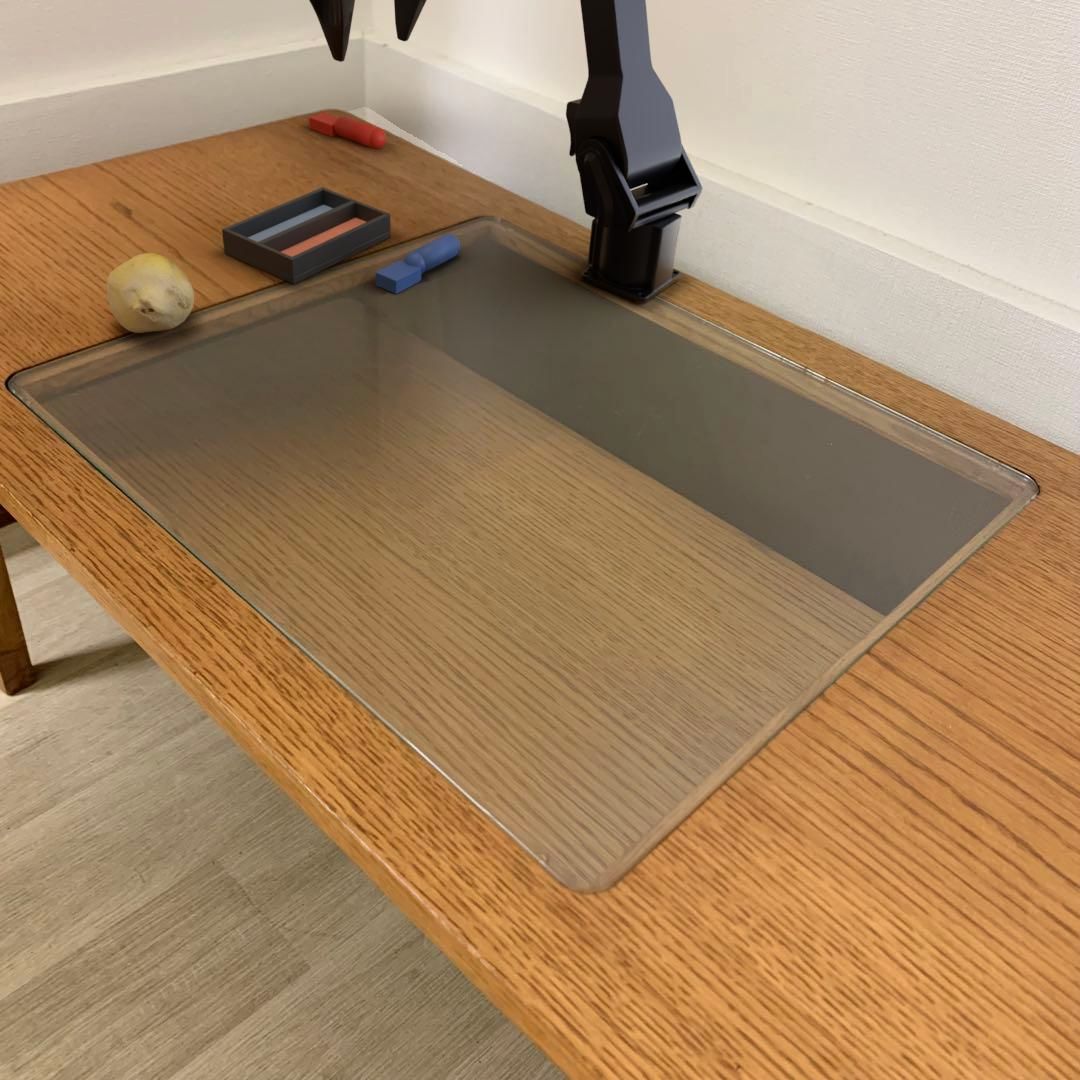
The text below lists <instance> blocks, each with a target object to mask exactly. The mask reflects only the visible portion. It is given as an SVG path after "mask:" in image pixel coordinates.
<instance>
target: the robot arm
mask: <svg viewBox="0 0 1080 1080" xmlns="http://www.w3.org/2000/svg"><path fill="white" fill-rule="evenodd" d="M308 1H309V3H310V5H311V7H312V8H313V11H314V13H315V15H316V18H317V20H318V22H319V25H320V28H321V30H322V33H323V37H324V38H325V41H326V43H327V46H328V49H329V51H330V54H331V57H332V59H333V60H334V61H336V62H340V63H341V62H344V61H345V60H346V56H347V52H348V47H349V41H350V34H351V29H352V22H353V17H354V15H353V14H354V10H355V3H356V0H308ZM393 2H394V3H393V5H394V7H393V8H394V23H395V30H396V36H397V39H398V40H399V41H402V42H408V41H409V39H410V37H411V35H412V33H413V31H414V28H415V26H416V23H417V22H418V20H419V18H420V15H421V13H422V11H423V9H424V7H425V5H426V3H427V2H428V1H427V0H393ZM579 2H580V10H581V17H582V18H581V20H582V28H583V29H582V30H583V35H584V46H585V53H586V62H587V80H586V83H585V87H584V89H583V93H582V95H581V98H577V99H574V100H571V101H568V102H567V103H566V109H565V118H566V121H567V125H568V130H569V135H570V137H569V138H570V139H569V140H570V146H569V152H568V154H569V155H568V156H569V157H574V156H575V164H576V167H577V172H578V174H579V180H580V186H581V194H582V200H583V206H584V212H585V214H586V215H587V216H590V217H592V218H593V219H592V220H591V227H590V236H589V246H588V254H587V264H588V265H589V267H588V268H586V269H584V270H582V271H581V272H580V280H582V281H584V282H587V283H590V284H592V285H594V286H597V287H599V288H602V289H604V290H607V291H610V292H612V293H615V294H618V295H620V296H622V297H626V298H628V299H630V300H633V301H635V302H638V303H647V302H649V301H650V300H651V299H653V298H654V297H656V296H657V295H658V294H660V293H661V292H662V291H664V290H665V289H667V288H668V287H670V286H671V285H673V284H674V283H676V282H677V281H678V280H680V278H681V271H679V270H677V269H674V266H675V260H676V259H675V258H676V252H677V246H678V240H679V234H680V229H681V228H680V227H681V223H682V215H681V214H679V212H682V211H684V210H689V209H691V208H694V207H695V205H696V203H697V201H698V199H699V197H700V195H701V194H702V192H703V185H702V183H701V181H700V179H699V177H698V174H697V173H696V171H695V168H694V166H693V164H692V162H691V159H690V158H689V156H688V154H687V151H686V150H685V147H684V145H683V143H682V137H681V132H680V128H679V127H680V126H679V123H678V117H677V113H676V109H675V104H674V101H673V98H672V96H671V94H670V93H669V91H668V90H667V89H666V87H665V85H664V83H663V82H662V80H661V79H660V77H659V76H658V74H657V72H656V71H655V69H654V67H653V63H652V56H651V46H650V35H649V34H650V33H649V23H648V13H647V2H646V0H579Z"/></svg>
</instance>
